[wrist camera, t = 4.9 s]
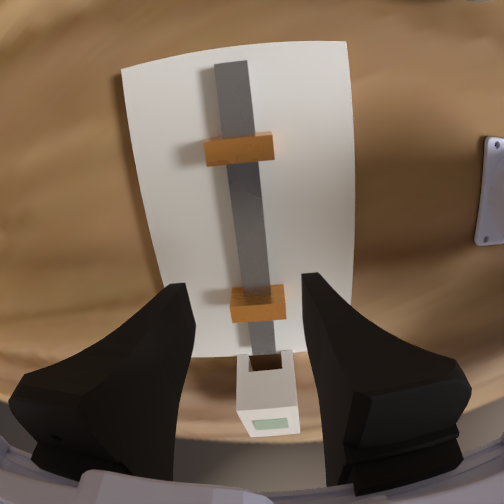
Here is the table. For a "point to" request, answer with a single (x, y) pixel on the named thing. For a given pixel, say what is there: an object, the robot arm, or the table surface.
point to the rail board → (271, 175)
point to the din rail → (246, 204)
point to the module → (267, 398)
